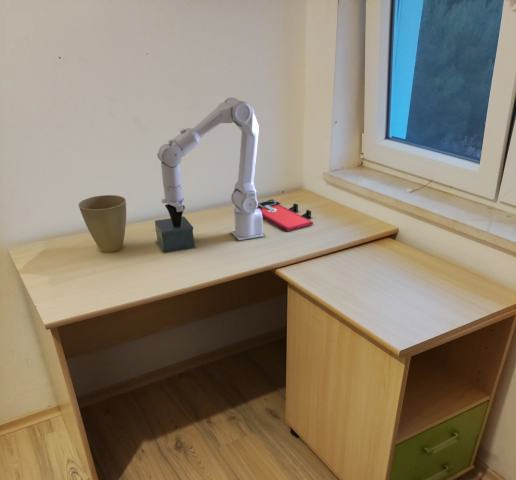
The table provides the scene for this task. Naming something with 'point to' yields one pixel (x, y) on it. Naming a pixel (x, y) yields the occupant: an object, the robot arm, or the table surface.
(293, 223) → the red board with handle
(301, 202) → the table surface
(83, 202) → the plant pot
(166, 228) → the bin lid
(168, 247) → the bin
